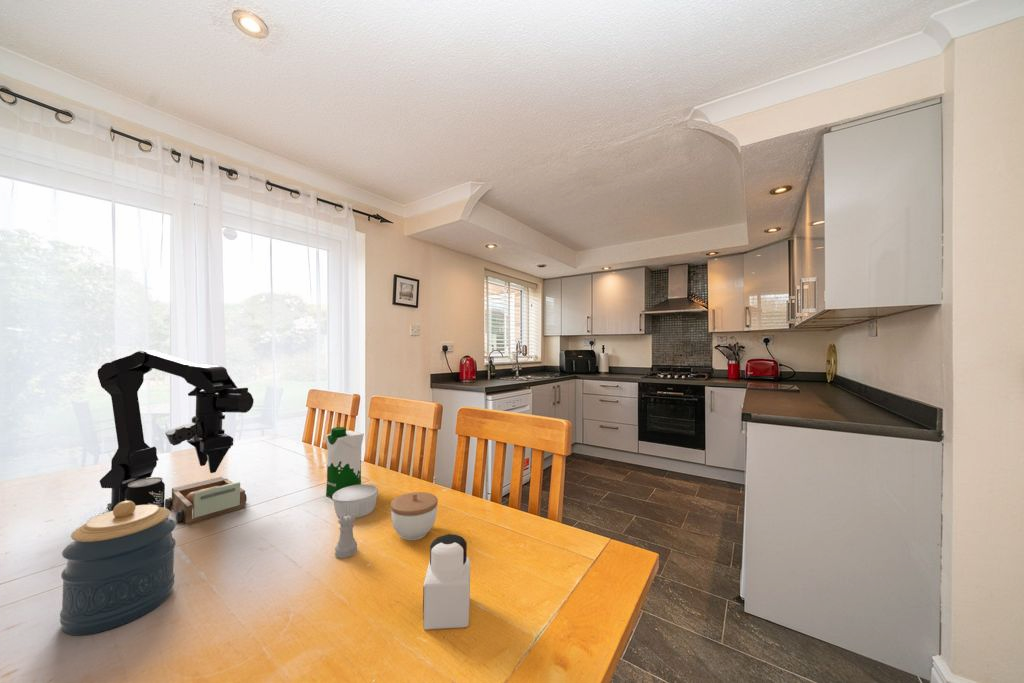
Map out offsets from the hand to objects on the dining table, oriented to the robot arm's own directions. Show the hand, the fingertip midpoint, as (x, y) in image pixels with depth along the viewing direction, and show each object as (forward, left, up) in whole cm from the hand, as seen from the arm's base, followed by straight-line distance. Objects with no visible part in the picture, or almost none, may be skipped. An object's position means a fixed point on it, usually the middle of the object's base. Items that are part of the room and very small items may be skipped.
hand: (207, 469), depth 98 cm
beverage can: (+6, -13, -11) cm, 18 cm away
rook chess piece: (+52, +11, -11) cm, 54 cm away
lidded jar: (+57, +25, -11) cm, 63 cm away
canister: (+37, -20, -11) cm, 43 cm away
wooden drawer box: (0, 0, -10) cm, 10 cm away
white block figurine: (+82, +12, -11) cm, 83 cm away
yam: (-2, 0, -9) cm, 10 cm away
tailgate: (+9, 0, -9) cm, 13 cm away
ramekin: (+35, +23, -11) cm, 43 cm away
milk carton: (+22, +27, -11) cm, 36 cm away
